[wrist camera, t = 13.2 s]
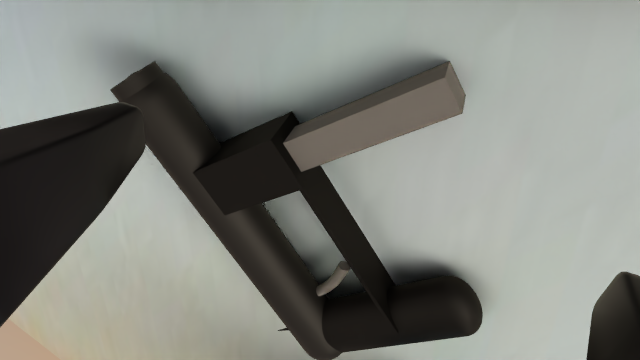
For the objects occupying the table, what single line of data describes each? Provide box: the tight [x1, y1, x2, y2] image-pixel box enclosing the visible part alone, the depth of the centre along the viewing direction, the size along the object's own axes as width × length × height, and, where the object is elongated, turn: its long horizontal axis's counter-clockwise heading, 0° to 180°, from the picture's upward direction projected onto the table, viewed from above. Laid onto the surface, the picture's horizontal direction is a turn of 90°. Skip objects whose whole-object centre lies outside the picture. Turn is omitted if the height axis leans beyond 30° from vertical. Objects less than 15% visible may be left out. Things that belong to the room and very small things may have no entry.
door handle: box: [111, 61, 482, 360], centre depth 26 cm, size 3×20×16 cm
